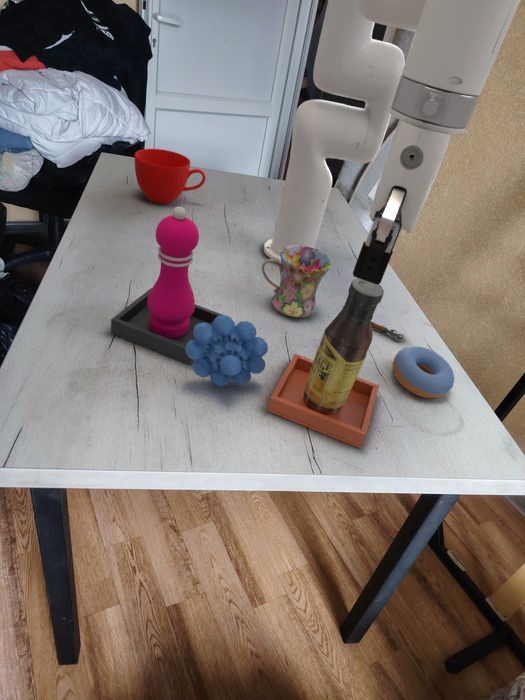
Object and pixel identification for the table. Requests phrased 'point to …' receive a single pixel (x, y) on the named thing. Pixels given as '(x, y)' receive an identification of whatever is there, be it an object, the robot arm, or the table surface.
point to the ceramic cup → (163, 174)
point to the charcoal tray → (137, 330)
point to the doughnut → (423, 372)
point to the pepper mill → (173, 276)
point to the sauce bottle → (343, 349)
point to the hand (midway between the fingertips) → (373, 262)
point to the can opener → (387, 331)
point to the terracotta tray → (339, 425)
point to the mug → (298, 279)
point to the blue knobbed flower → (226, 351)
